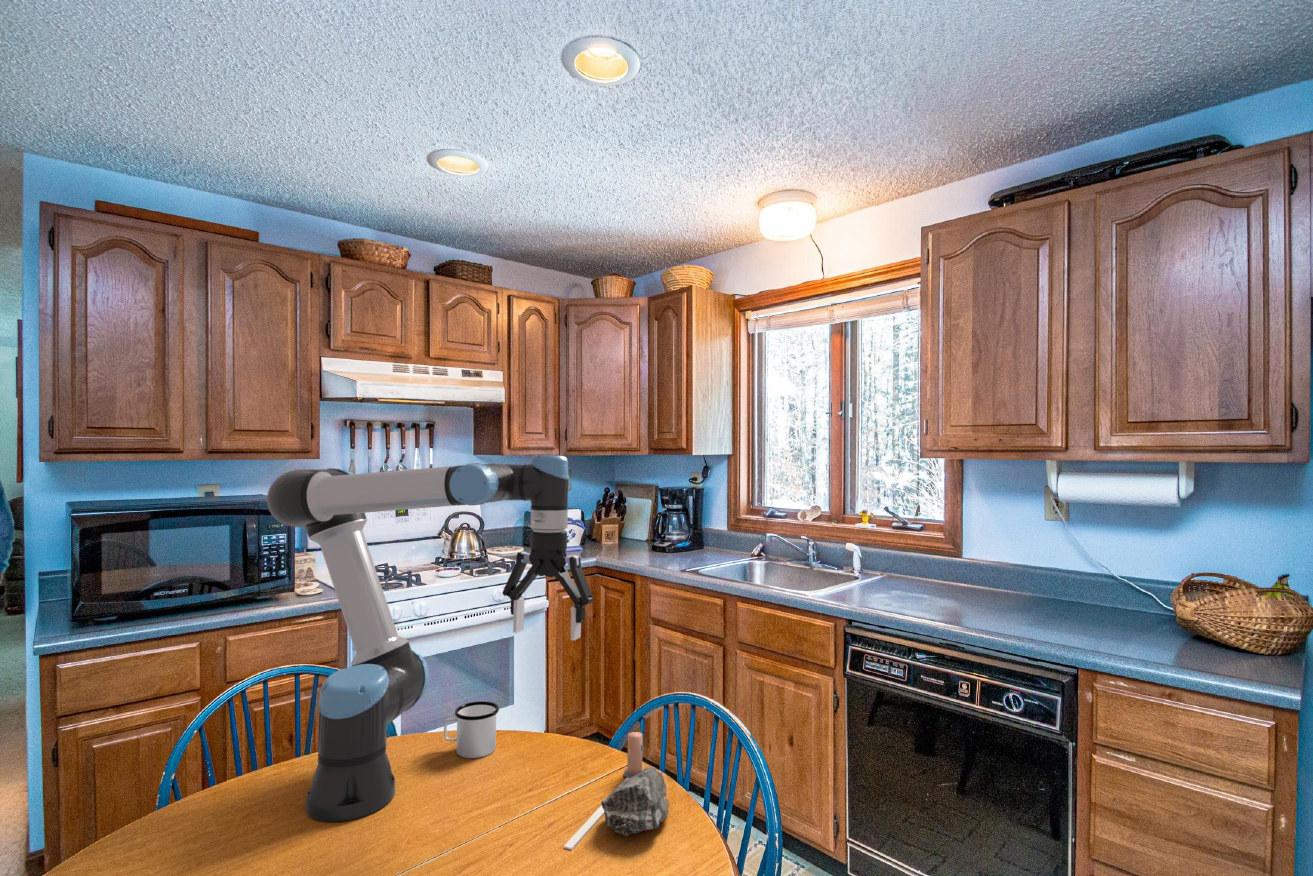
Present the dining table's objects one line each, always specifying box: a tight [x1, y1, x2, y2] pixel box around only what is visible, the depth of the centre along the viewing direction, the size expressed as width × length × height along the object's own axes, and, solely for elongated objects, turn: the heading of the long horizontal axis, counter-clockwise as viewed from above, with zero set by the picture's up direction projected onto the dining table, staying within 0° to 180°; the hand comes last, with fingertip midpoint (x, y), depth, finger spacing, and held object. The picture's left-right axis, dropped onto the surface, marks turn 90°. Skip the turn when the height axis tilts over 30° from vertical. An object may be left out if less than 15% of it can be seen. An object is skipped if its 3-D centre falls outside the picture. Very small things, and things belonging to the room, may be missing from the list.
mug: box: [443, 700, 500, 759], centre depth 143 cm, size 12×10×9 cm
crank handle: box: [563, 731, 645, 851], centre depth 120 cm, size 4×30×8 cm, turn 158°
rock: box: [600, 765, 670, 837], centre depth 116 cm, size 18×10×10 cm
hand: (546, 635), depth 132 cm, fingers open, 13 cm apart
